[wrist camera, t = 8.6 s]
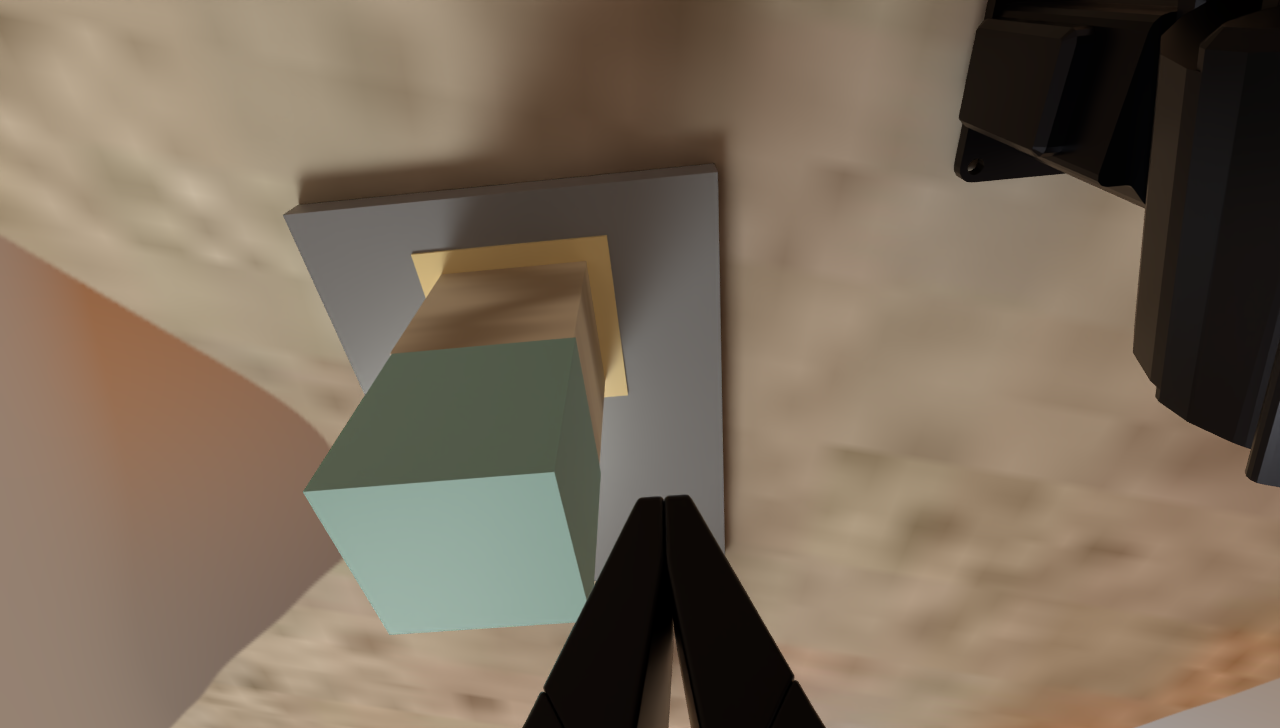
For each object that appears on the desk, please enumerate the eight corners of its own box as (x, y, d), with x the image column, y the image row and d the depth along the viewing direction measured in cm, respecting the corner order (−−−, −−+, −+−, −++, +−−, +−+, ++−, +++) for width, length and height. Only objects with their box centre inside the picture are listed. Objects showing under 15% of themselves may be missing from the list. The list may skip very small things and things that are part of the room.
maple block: (586, 261, 19) (573, 337, 15) (605, 380, 22) (599, 473, 18) (441, 274, 20) (389, 353, 15) (478, 391, 22) (442, 485, 18)
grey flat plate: (713, 163, 19) (718, 172, 18) (722, 555, 30) (725, 573, 29) (297, 204, 19) (281, 216, 18) (458, 573, 30) (453, 592, 29)
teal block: (575, 337, 15) (554, 472, 11) (600, 472, 18) (591, 621, 14) (391, 353, 15) (302, 491, 11) (444, 485, 18) (389, 634, 14)
